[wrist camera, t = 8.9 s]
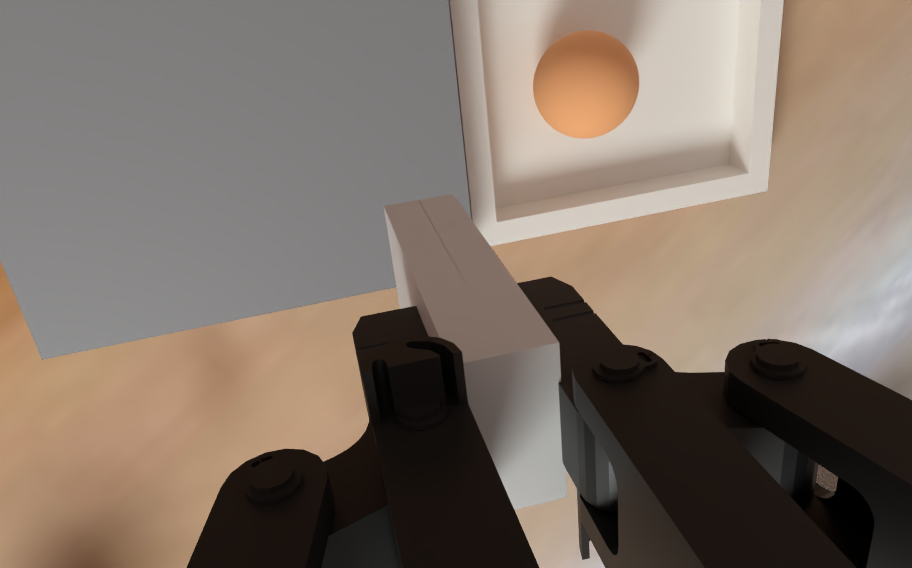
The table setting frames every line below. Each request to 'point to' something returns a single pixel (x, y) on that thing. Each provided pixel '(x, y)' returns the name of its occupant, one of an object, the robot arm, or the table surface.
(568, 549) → the table surface
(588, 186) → the tray
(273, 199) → the deck
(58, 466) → the table surface
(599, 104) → the ball
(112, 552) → the table surface
